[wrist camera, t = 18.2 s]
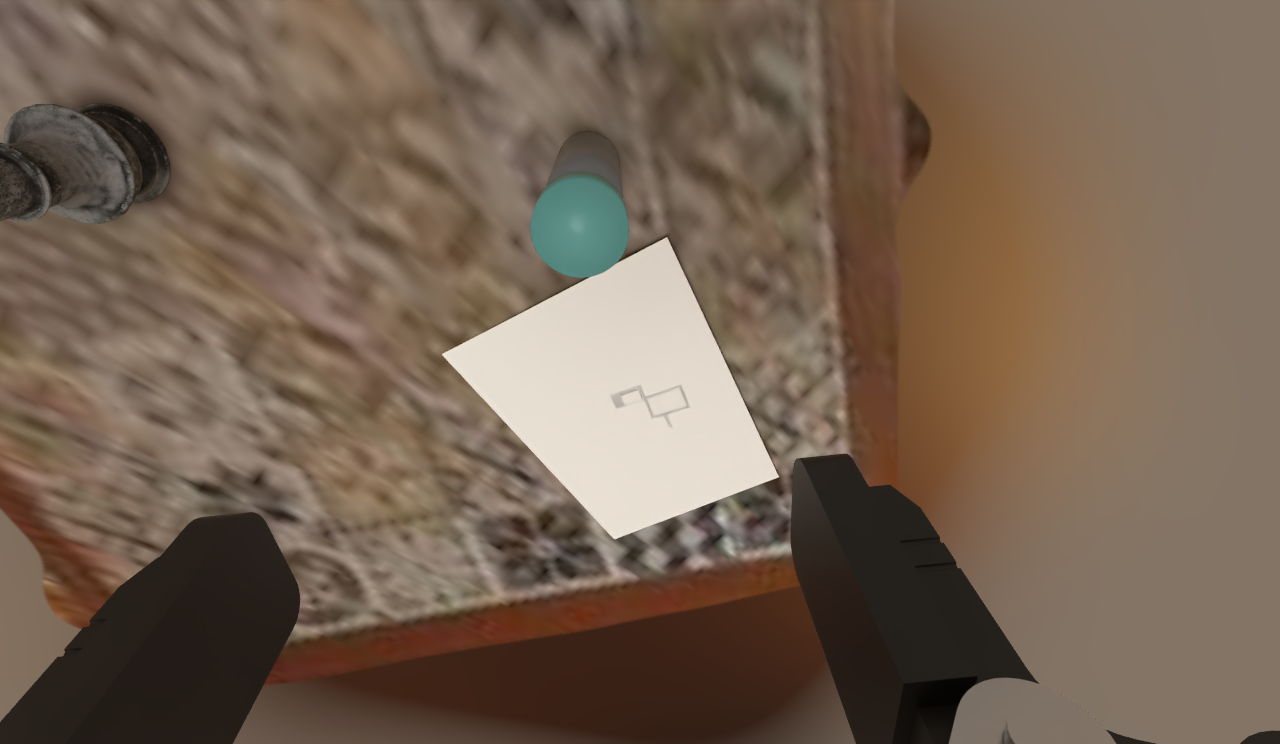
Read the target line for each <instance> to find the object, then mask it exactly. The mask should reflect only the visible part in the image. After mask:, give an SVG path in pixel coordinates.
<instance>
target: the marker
mask: <svg viewBox="0 0 1280 744" xmlns="http://www.w3.org/2000/svg"><path fill="white" fill-rule="evenodd" d="M531 237H532V241H533V244H534V247H535V249H536V251H537V253H538V254H539V256H540V257H541V258H542V260H543V261H544V262H545V263H546V264H547V265H549V266H550V267H551V268H552V269H554V270H555V271H557V272H559V273H561V274H564V275H567V276H571V277H578V278H585V277H592V276H596V275H599V274H601V273H603V272H605V271H607V270H608V269H610V268H611V267H612V266H614V265H615V264H616V263H617V262H618V260H619V259H620V258H621V256H622V255H623V253H624V251H625V249H626V246H627V243H628V239H629V223H628V214H627V208H626V205H625V202H624V200H623V190H622V181H621V171H620V162H619V156H618V153H617V151H616V148H615V147H614V145H613V144H612V143H611V142H610V141H609V140H608V139H607V138H606V137H605V136H603V135H601V134H599V133H596V132H590V131H586V132H580V133H577V134H575V135H573V136H571V137H570V138H569V139H567V140H566V142H565V143H564V144H563V146H562V147H561V149H560V152H559V154H558V157H557V159H556V162H555V165H554V167H553V170H552V172H551V175H550V177H549V180H548V182H547V185H546V187H545V188H544V190H543V191H542V193H541V194H540V197H539V199H538V201H537V203H536V206H535V208H534V211H533V214H532V218H531Z"/></svg>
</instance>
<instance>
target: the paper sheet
mask: <svg viewBox="0 0 1280 744" xmlns="http://www.w3.org/2000/svg"><path fill="white" fill-rule="evenodd" d="M442 355H443V356H444V357H445V358H446V359H447V361H448V362H449V363H450V364H451V365H452V366H453V367H454V368H455V369H456V370H457V371H458V372H459V373H460V374H461V376H462V377H463V378H464V379H465V380H466V381H467V382H468V383H469V384H470V385H471V386H472V387H473V388H474V390H475V391H476V392H477V393H478V394H479V395H480V396H481V397H482V398H483V399H484V400H485V401H486V402H487V403H488V405H489V406H490V407H491V408H492V409H493V410H494V411H495V412H496V413H497V414H498V415H499V416H500V417H501V418H502V420H503V421H504V422H505V423H506V424H507V425H508V426H509V427H510V428H511V429H512V430H513V431H514V432H515V433H516V435H517V436H518V437H519V438H520V439H521V440H522V441H523V442H524V443H525V444H526V445H527V446H528V447H529V448H530V450H531V451H532V452H533V453H534V454H535V455H536V456H537V457H538V458H539V459H540V460H541V461H542V462H543V463H544V465H545V466H546V467H547V468H548V469H549V470H550V471H551V472H552V473H553V474H554V475H555V476H556V477H557V478H558V480H559V481H560V482H561V483H562V484H563V485H564V486H565V487H566V488H567V489H568V490H569V491H570V492H571V493H572V495H573V496H574V497H575V498H576V499H577V500H578V501H579V502H580V503H581V504H582V505H583V506H584V507H585V508H586V510H587V511H588V512H589V513H590V514H591V515H592V516H593V517H594V518H595V519H596V520H597V521H598V522H599V523H600V525H601V526H602V527H603V528H604V529H605V530H606V531H607V532H608V533H609V534H610V535H611V536H612V537H613V538H614V539H616V538H619V537H622V536H624V535H627V534H630V533H632V532H635V531H638V530H640V529H643V528H645V527H648V526H651V525H653V524H656V523H659V522H661V521H664V520H667V519H669V518H672V517H675V516H677V515H680V514H682V513H685V512H688V511H690V510H693V509H696V508H698V507H701V506H704V505H706V504H709V503H712V502H714V501H717V500H719V499H722V498H725V497H727V496H730V495H733V494H735V493H738V492H741V491H743V490H746V489H748V488H751V487H754V486H756V485H759V484H762V483H764V482H767V481H770V480H772V479H775V478H778V477H779V476H778V474H777V472H776V470H775V468H774V466H773V463H772V461H771V459H770V457H769V455H768V453H767V451H766V448H765V446H764V444H763V442H762V440H761V438H760V436H759V433H758V431H757V429H756V427H755V425H754V423H753V420H752V418H751V416H750V414H749V412H748V410H747V408H746V405H745V403H744V401H743V399H742V397H741V395H740V393H739V390H738V388H737V386H736V384H735V382H734V380H733V378H732V375H731V373H730V371H729V369H728V367H727V365H726V363H725V360H724V358H723V356H722V354H721V352H720V350H719V348H718V345H717V343H716V341H715V339H714V337H713V335H712V332H711V330H710V328H709V326H708V324H707V322H706V320H705V317H704V315H703V313H702V311H701V309H700V307H699V305H698V302H697V300H696V298H695V296H694V294H693V292H692V290H691V287H690V285H689V283H688V281H687V279H686V277H685V275H684V272H683V270H682V268H681V266H680V264H679V262H678V260H677V257H676V255H675V253H674V251H673V249H672V247H671V244H670V242H669V240H668V238H667V237H666V238H664V239H662V240H661V241H659V242H657V243H655V244H653V245H651V246H649V247H647V248H645V249H643V250H641V251H639V252H637V253H636V254H634V255H632V256H630V257H628V258H626V259H624V260H622V261H620V262H618V263H616V264H615V265H614V266H612V267H611V268H610V269H608V270H607V271H605V272H603V273H601V274H599V275H596V276H592V277H589V278H588V279H586V280H584V281H582V282H580V283H578V284H576V285H574V286H572V287H570V288H568V289H566V290H564V291H563V292H561V293H559V294H557V295H555V296H553V297H551V298H549V299H547V300H545V301H543V302H541V303H539V304H538V305H536V306H534V307H532V308H530V309H528V310H526V311H524V312H522V313H520V314H518V315H516V316H514V317H513V318H511V319H509V320H507V321H505V322H503V323H501V324H499V325H497V326H495V327H493V328H491V329H490V330H488V331H486V332H484V333H482V334H480V335H478V336H476V337H474V338H472V339H470V340H468V341H466V342H465V343H463V344H461V345H459V346H457V347H455V348H453V349H451V350H449V351H447V352H445V353H443V354H442Z"/></svg>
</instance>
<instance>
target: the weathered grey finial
mask: <svg viewBox="0 0 1280 744" xmlns="http://www.w3.org/2000/svg"><path fill="white" fill-rule="evenodd" d="M169 178H170V162H169V159H168V156H167V153H166V150H165V148H164V146H163V144H162V143H161V141H160V139H159V138H158V136H157V135H156V134H155V133H154V132H153V130H152V129H151V128H150V127H149V126H148V125H147V124H146V123H145V122H143V121H142V120H141V119H139V118H138V117H137V116H136V115H134V114H132V113H130V112H128V111H126V110H124V109H122V108H120V107H116V106H113V105H109V104H89V105H86V106H82V107H80V108H78V109H77V110H73V109H70V108H66V107H62V106H59V105H55V104H36V105H32V106H29V107H25V108H22V109H21V110H20V111H18V112H17V113H16V114H14V115H13V116H12V117H11V119H10V121H9V122H8V124H7V126H6V128H5V134H4V143H0V221H2V220H5V219H9V220H13V221H17V222H29V221H32V220H36V219H39V218H40V217H42V216H43V215H45V214H46V213H47V211H48V209H50V210H51V211H53V212H54V213H57V214H59V215H61V216H63V217H65V218H68V219H70V220H74V221H78V222H82V223H97V224H101V223H105V222H109V221H112V220H116V219H117V218H118V217H120V216H121V215H123V214H124V213H126V211H127V210H128V209H129V207H130V206H131V204H132V203H133V202H145V201H148V200H152V199H154V198H155V197H157V196H158V195H160V194H161V193H162V192H163V191H164V189H165V188H166V186H167V185H168V182H169Z"/></svg>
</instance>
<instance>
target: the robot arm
mask: <svg viewBox="0 0 1280 744" xmlns="http://www.w3.org/2000/svg"><path fill="white" fill-rule="evenodd" d="M791 549H792V556H793V561H794V566H795V570H796V574H797V577H798V580H799V583H800V586H801V589H802V592H803V594H804V597H805V600H806V603H807V606H808V609H809V611H810V614H811V617H812V620H813V623H814V626H815V629H816V631H817V634H818V637H819V640H820V642H821V646H822V648H823V651H824V654H825V657H826V660H827V662H828V665H829V668H830V671H831V674H832V677H833V679H834V682H835V685H836V688H837V691H838V694H839V697H840V700H841V702H842V705H843V708H844V711H845V714H846V717H847V719H848V722H849V725H850V728H851V731H852V733H853V736H854V739H855V742H856V744H1155V743H1150V742H1145V741H1141V740H1136V739H1132V738H1129V737H1125V736H1121V735H1118V734H1116V733H1113V732H1111V731H1108V730H1106V729H1105V728H1104V727H1103V726H1102V725H1101V724H1100V723H1099V722H1098V721H1097V720H1096V719H1095V718H1094V717H1093V716H1092V715H1091V714H1089V712H1087V711H1086V710H1085V709H1083V708H1082V707H1081V706H1079V705H1078V704H1077V703H1075V702H1074V701H1072V700H1071V699H1069V698H1067V697H1066V696H1064V695H1063V694H1061V693H1059V692H1056V691H1055V690H1052V689H1050V688H1048V687H1046V686H1043V685H1040V684H1039V683H1038V682H1037V681H1036V680H1035V679H1034V677H1033V676H1032V675H1031V673H1030V672H1029V671H1028V669H1027V668H1026V667H1025V665H1024V663H1023V662H1022V660H1021V659H1020V657H1019V656H1018V654H1017V653H1016V651H1015V650H1014V649H1013V647H1012V645H1011V644H1010V642H1009V641H1008V639H1007V638H1006V636H1005V635H1004V633H1003V632H1002V630H1001V629H1000V627H999V626H998V624H997V623H996V621H995V620H994V618H993V617H992V615H991V614H990V612H989V611H988V609H987V608H986V606H985V605H984V603H983V602H982V600H981V599H980V597H979V596H978V594H977V592H976V591H975V590H974V588H973V586H972V585H971V583H970V582H969V580H968V579H967V577H966V576H965V575H964V573H963V572H962V570H961V569H960V568H957V566H956V561H955V559H954V558H953V556H952V555H951V553H950V552H949V550H948V549H947V547H946V546H945V544H944V543H941V542H940V537H939V535H938V534H937V532H936V531H935V529H934V528H933V526H932V525H931V523H930V522H929V520H928V519H927V517H926V516H925V514H924V513H923V511H922V509H921V508H920V507H919V506H917V505H916V504H915V503H913V502H912V501H911V500H909V499H908V498H907V497H905V496H904V495H903V494H901V493H900V492H899V491H897V490H896V489H895V488H893V487H892V486H891V485H883V486H873V487H868V485H867V483H866V481H865V480H864V478H863V476H862V474H861V473H860V471H859V469H858V468H857V466H856V464H855V462H854V461H853V459H852V458H851V457H850V456H849V455H848V454H837V455H827V456H817V457H807V458H798V459H796V460H795V463H794V468H793V488H792V512H791ZM299 607H300V593H299V588H298V584H297V582H296V580H295V578H294V576H293V574H292V572H291V570H290V568H289V566H288V564H287V562H286V560H285V558H284V556H283V554H282V552H281V550H280V549H279V547H278V545H277V543H276V541H275V539H274V537H273V535H272V533H271V531H270V529H269V527H268V525H267V523H266V522H265V520H264V519H263V518H262V517H261V516H260V515H259V514H257V513H253V512H248V513H238V514H228V515H219V516H209V517H201V518H197V519H195V520H193V521H192V522H190V523H189V524H188V525H187V526H186V527H185V528H184V529H183V531H182V532H181V533H180V534H179V535H178V536H177V538H176V539H175V540H174V541H173V542H172V544H171V545H170V546H169V547H168V548H167V549H166V551H165V552H164V553H163V554H162V555H161V556H160V557H158V558H157V559H155V560H154V561H153V562H151V563H150V564H149V565H147V566H146V567H145V568H143V569H142V570H141V571H139V572H138V573H137V574H136V575H134V576H133V577H132V578H130V579H129V580H128V581H126V582H125V583H124V584H122V585H121V586H120V587H119V588H118V589H117V590H116V591H115V592H114V593H113V595H112V596H111V597H110V598H109V599H108V600H107V601H106V603H105V604H104V605H103V606H102V607H101V608H100V609H99V610H98V612H97V613H96V614H95V615H94V616H93V617H92V618H91V620H90V626H89V627H84V628H83V629H82V630H81V631H80V632H79V633H78V634H77V636H76V637H75V638H74V639H73V640H72V641H71V642H70V643H69V645H68V646H67V647H66V648H65V654H64V656H62V657H57V658H56V659H55V660H54V662H53V663H52V664H51V665H50V666H49V667H48V668H47V670H46V671H45V672H44V673H43V674H42V675H41V677H40V678H39V679H38V680H37V681H36V682H35V683H34V684H33V685H32V687H31V688H30V689H29V690H28V691H27V692H26V693H25V695H24V696H23V697H22V698H21V699H20V700H19V701H18V703H17V704H16V705H15V706H14V707H13V708H12V709H11V711H10V712H9V713H8V714H7V715H6V716H5V717H4V718H3V720H2V721H1V722H0V744H233V742H234V740H235V738H236V736H237V734H238V733H239V731H240V729H241V727H242V725H243V723H244V721H245V719H246V717H247V715H248V713H249V712H250V710H251V708H252V706H253V704H254V702H255V700H256V698H257V696H258V695H259V693H260V691H261V689H262V687H263V685H264V683H265V681H266V679H267V677H268V676H269V674H270V672H271V670H272V668H273V666H274V664H275V662H276V660H277V658H278V656H279V655H280V653H281V651H282V649H283V647H284V645H285V643H286V641H287V639H288V637H289V636H290V634H291V632H292V630H293V628H294V626H295V624H296V621H297V618H298V613H299ZM1241 744H1280V731H1266V732H1259V733H1257V734H1254V735H1251V736H1249V737H1248V738H1246V739H1245V740H1244V741H1243V742H1241Z"/></svg>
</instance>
